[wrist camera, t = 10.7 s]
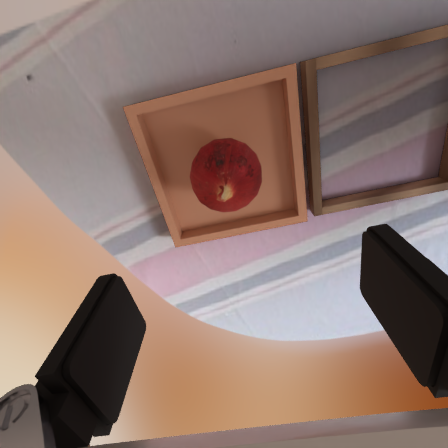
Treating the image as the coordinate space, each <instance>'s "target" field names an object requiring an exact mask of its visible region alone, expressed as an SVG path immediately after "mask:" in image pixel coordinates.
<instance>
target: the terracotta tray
mask: <svg viewBox="0 0 448 448" xmlns="http://www.w3.org/2000/svg"><path fill="white" fill-rule="evenodd" d="M123 109H124V112H125V114H126V117H127V120H128V122H129V125H130V128H131V130H132V133H133V136H134V138H135V141H136V144H137V146H138V149H139V152H140V154H141V157H142V159H143V162H144V165H145V167H146V170H147V173H148V175H149V178H150V181H151V183H152V186H153V189H154V191H155V194H156V197H157V199H158V202H159V205H160V207H161V210H162V213H163V215H164V218H165V221H166V223H167V226H168V229H169V231H170V234H171V237H172V239H173V242H174V245H175V247H180V246H185V245H190V244H195V243H200V242H205V241H210V240H215V239H221V238H226V237H231V236H236V235H241V234H246V233H251V232H256V231H261V230H266V229H271V228H276V227H281V226H286V225H291V224H296V223H301V222H306V221H308V220H307V206H306V193H305V179H304V166H303V152H302V138H301V125H300V111H299V97H298V84H297V70H296V63H294V64H290V65H286V66H282V67H278V68H274V69H271V70H267V71H263V72H259V73H255V74H251V75H247V76H243V77H239V78H235V79H231V80H227V81H223V82H219V83H215V84H211V85H207V86H203V87H200V88H196V89H192V90H188V91H184V92H180V93H176V94H172V95H168V96H164V97H160V98H156V99H152V100H148V101H144V102H140V103H136V104H133V105H129V106H125V107H123ZM224 138H233V139H235V140H238V141H240V142H243V143H246V144H247V145H248V146H249V147H250V148H251V149H252V150H253V151H254V152H255V153H256V154H257V157H258V159H259V162H260V164H261V168H262V183H261V186H260V189H259V192H258V195H257V196H256V197H255V198H254V199H253V200H252V201H251V202H250V203H249V204H248V205H247V206H245V207H243V208H241V209H239V210H237V211H234V212H219V211H215V210H211V209H209V208H208V207H206V206H205V205H203V204H202V203H200V202H199V200H198V198H197V196H196V195H195V193H194V191H193V189H192V185H191V180H190V171H191V166H192V162H193V160H194V158H195V156H196V155H197V153H198V151H199V150H200V148H201V147H203V146H204V145H206V144H208V143H209V142H211V141H213V140H214V139H224Z"/></svg>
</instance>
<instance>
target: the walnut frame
mask: <svg viewBox="0 0 448 448" xmlns="http://www.w3.org/2000/svg"><path fill="white" fill-rule="evenodd" d="M447 37H448V25H444V26H440V27H436V28H432V29H428V30H424V31H420V32H416V33H413V34H409V35H405V36H401V37H397V38H393V39H389V40H385V41H381V42H377V43H373V44H369V45H365V46H361V47H357V48H353V49H349V50H346V51H342V52H338V53H334V54H330V55H326V56H322V57H318V58H314V59H310V60H306V61H302V62H300V70H301V85H302V100H303V115H304V130H305V145H306V160H307V175H308V190H309V205H310V211H311V212H312V214H313V215H314V216H318V215H323V214H328V213H333V212H338V211H343V210H348V209H353V208H358V207H363V206H368V205H373V204H378V203H383V202H388V201H393V200H399V199H404V198H409V197H414V196H419V195H424V194H429V193H434V192H439V191H444V190H448V126H447V132H446V137H445V142H444V148H443V153H442V158H441V164H440V169H439V174H438V177H435V178H430V179H425V180H420V181H415V182H410V183H405V184H400V185H396V186H391V187H386V188H381V189H376V190H371V191H366V192H361V193H356V194H351V195H347V196H342V197H337V198H332V199H327V200H322V191H321V167H320V142H319V118H318V93H317V70H319V69H323V68H327V67H331V66H335V65H339V64H343V63H347V62H351V61H355V60H359V59H363V58H367V57H371V56H375V55H379V54H383V53H387V52H391V51H395V50H399V49H403V48H407V47H411V46H415V45H419V44H423V43H427V42H431V41H435V40H439V39H443V38H447Z"/></svg>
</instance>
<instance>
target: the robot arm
mask: <svg viewBox="0 0 448 448" xmlns="http://www.w3.org/2000/svg"><path fill="white" fill-rule="evenodd" d="M360 290H361V293H362V296H363V297H364V299H365V300H366V302H367V303H368V305H369V307H370V308H371V310H372V311H373V313H374V314H375V316H376V317H377V319H378V320H379V322H380V323H381V325H382V327H383V328H384V330H385V331H386V332H387V334H388V336H389V337H390V339H391V340H392V342H393V343H394V345H395V347H396V348H397V349H398V351H399V353H400V354H401V356H402V357H403V359H404V360H405V362H406V363H407V365H408V366H409V368H410V370H411V371H412V373H413V374H414V376H415V377H416V379H417V380H418V382H419V383H420V384H421V385H422V386H424V387H425V386H427V387H428V388H429V390H430V391H431V393H432V394H433V396H434V397H435V398H439V397H448V275H446V274H445V273H444V272H443V271H442V270H441V269H439V268H438V267H437V266H436V265H435V264H434V263H433V262H431V261H430V260H429V259H428V258H426V257H425V256H423V255H422V254H421V253H420V252H419V251H418V250H417V249H415V248H414V247H413V246H412V245H411V244H410V243H408V242H407V241H406V240H405V239H404V238H403V237H402V236H400V235H399V234H398V233H397V232H396V231H395V230H394V229H392V228H391V227H390V226H389V225H387V224H382V225H376V226H371V227H368V228H367V231H366V232H363V234H362V253H361V275H360ZM145 331H146V323H145V320H144V318H143V316H142V314H141V313H140V311H139V309H138V307H137V305H136V303H135V302H134V300H133V298H132V296H131V294H130V292H129V290H128V288H127V286H126V285H125V283H124V281H123V279H122V278H121V277H120V276H117V275H116V274H108V275H103V276H100V277H98V279H97V280H96V282H95V283H94V285H93V287H92V288H91V289H90V291H89V293H88V294H87V296H86V297H85V299H84V300H83V302H82V303H81V305H80V307H79V308H78V310H77V311H76V313H75V314H74V316H73V318H72V319H71V321H70V322H69V324H68V325H67V327H66V328H65V330H64V332H63V333H62V335H61V336H60V338H59V339H58V341H57V343H56V344H55V346H54V347H53V349H52V350H51V352H50V354H49V355H48V357H47V358H46V360H45V361H44V363H43V364H42V366H41V367H40V369H39V371H38V372H37V374H36V375H35V377H36V378H37V379H38V382H37V384H36V385H35V386H33V385H31V384H26V385H21V386H19V387H16V388H15V389H13V390H11V391H9V392H8V393H6V394H5V395H4V396H3V397H1V398H0V448H448V408H443V409H431V410H420V411H408V412H396V413H386V414H376V415H366V416H357V417H347V418H338V419H328V420H318V421H309V422H299V423H290V424H281V425H272V426H262V427H253V428H245V429H236V430H226V431H217V432H209V433H199V434H190V435H182V436H174V437H164V438H155V439H147V440H138V441H130V442H121V443H113V444H104V445H97V446H90V444H89V443H90V441H91V438H92V435H93V436H94V437H97V436H106V435H109V434H110V431H111V428H112V425H113V423H115V422H116V421H117V419H118V417H119V413H120V411H121V407H122V404H123V401H124V398H125V395H126V391H127V388H128V385H129V382H130V379H131V376H132V372H133V369H134V366H135V363H136V360H137V356H138V353H139V350H140V347H141V344H142V341H143V337H144V334H145Z"/></svg>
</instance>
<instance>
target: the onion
mask: <svg viewBox="0 0 448 448" xmlns="http://www.w3.org/2000/svg"><path fill="white" fill-rule="evenodd" d="M190 180H191V185H192V189H193V191H194V193H195V195H196V196H197V198H198V200H199V202H200V203H202V204H203V205H205V206H206V207H208V208H209V209H211V210H215V211H219V212H234V211H237V210H239V209H241V208H243V207H245V206H247V205H248V204H249V203H250V202H251V201H252V200H253V199H254V198H255V197H256V196H257V195H258V192H259V189H260V186H261V183H262V168H261V164H260V162H259V159H258V157H257V154H256V153H255V152H254V151H253V150H252V149H251V148H250V147H249V146H248V145H247V144H246V143H243V142H240V141H238V140H235V139H233V138H224V139H214V140H213V141H211V142H209V143H208V144H206V145H204V146H203V147H201V148H200V150H199V151H198V153H197V155H196V156H195V158H194V160H193V162H192V166H191V171H190Z"/></svg>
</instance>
